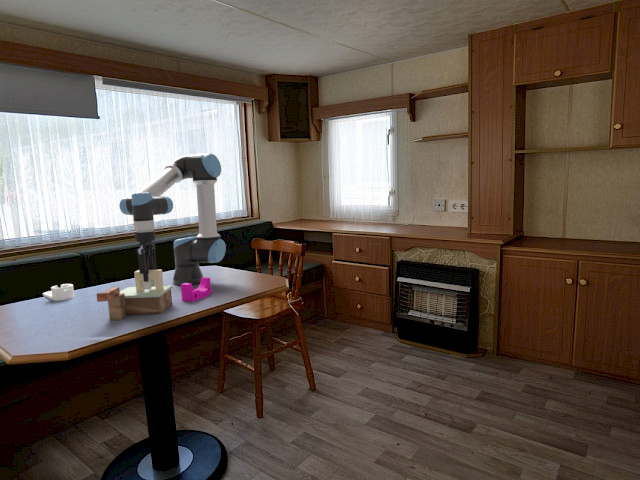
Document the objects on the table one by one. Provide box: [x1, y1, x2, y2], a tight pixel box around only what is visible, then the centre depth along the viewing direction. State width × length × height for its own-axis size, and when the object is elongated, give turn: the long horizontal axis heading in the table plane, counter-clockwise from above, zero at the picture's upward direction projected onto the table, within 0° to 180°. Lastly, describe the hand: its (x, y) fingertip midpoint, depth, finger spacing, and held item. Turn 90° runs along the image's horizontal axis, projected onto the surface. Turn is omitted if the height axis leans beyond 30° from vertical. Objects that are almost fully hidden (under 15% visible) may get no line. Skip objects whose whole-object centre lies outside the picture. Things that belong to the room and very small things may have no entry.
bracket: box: [42, 283, 75, 302], centre depth 200 cm, size 20×9×7 cm, turn 50°
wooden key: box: [96, 286, 121, 303], centre depth 158 cm, size 11×3×3 cm, turn 0°
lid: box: [119, 269, 173, 298], centre depth 173 cm, size 15×19×9 cm
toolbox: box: [107, 288, 173, 321], centre depth 172 cm, size 20×18×9 cm
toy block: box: [180, 276, 212, 302], centre depth 192 cm, size 15×6×8 cm, turn 154°
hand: (149, 287), depth 174 cm, fingers closed on lid, 3 cm apart
